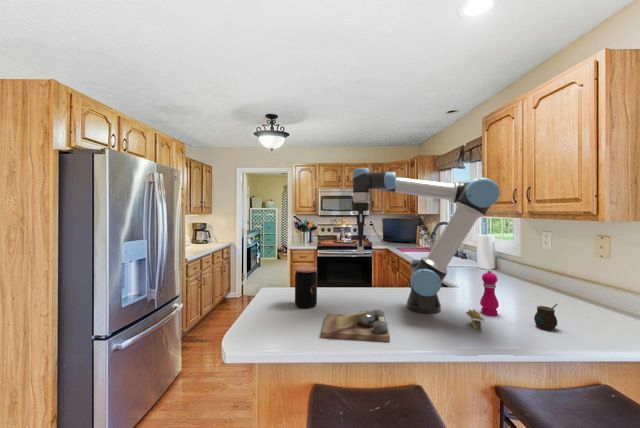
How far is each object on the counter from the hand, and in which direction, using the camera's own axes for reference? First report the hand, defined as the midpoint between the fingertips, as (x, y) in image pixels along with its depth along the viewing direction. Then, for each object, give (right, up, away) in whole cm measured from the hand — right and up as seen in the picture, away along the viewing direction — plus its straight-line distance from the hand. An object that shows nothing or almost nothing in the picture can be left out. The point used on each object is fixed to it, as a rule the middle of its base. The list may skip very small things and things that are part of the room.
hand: (360, 253), depth 132 cm
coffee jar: (-25, -26, +7) cm, 37 cm away
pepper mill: (+58, -27, -2) cm, 64 cm away
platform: (+43, -28, -17) cm, 54 cm away
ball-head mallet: (-5, -24, -23) cm, 34 cm away
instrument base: (-5, -27, -20) cm, 34 cm away
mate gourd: (+71, -27, -18) cm, 78 cm away
